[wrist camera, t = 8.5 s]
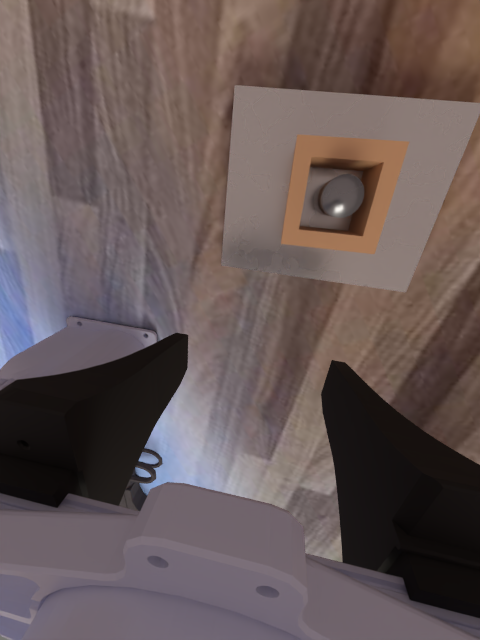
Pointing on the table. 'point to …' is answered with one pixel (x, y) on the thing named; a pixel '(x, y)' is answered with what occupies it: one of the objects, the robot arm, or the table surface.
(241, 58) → the table surface
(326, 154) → the ring
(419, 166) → the plate
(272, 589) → the robot arm
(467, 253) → the table surface
